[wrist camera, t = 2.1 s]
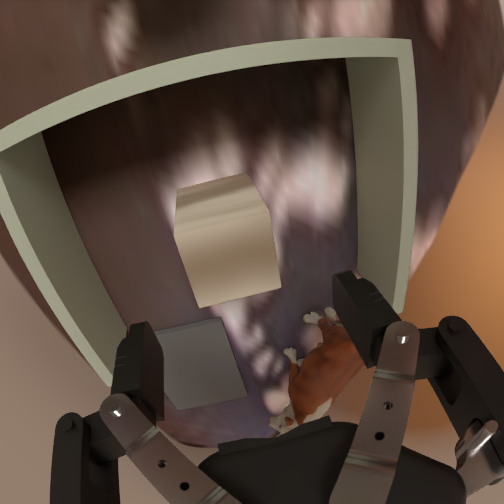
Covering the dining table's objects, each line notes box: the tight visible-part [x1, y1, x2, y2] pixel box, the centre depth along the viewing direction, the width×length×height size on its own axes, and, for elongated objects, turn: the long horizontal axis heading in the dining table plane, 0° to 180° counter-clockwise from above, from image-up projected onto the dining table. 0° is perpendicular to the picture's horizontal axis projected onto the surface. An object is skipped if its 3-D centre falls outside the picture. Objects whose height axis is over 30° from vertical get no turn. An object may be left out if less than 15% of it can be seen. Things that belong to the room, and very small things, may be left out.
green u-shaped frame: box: [0, 37, 418, 387], centre depth 18 cm, size 18×22×6 cm
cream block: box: [174, 172, 281, 308], centre depth 19 cm, size 5×5×6 cm
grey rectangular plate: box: [154, 317, 248, 410], centre depth 29 cm, size 12×8×1 cm, turn 10°
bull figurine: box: [269, 307, 365, 434], centre depth 26 cm, size 4×13×8 cm, turn 151°
